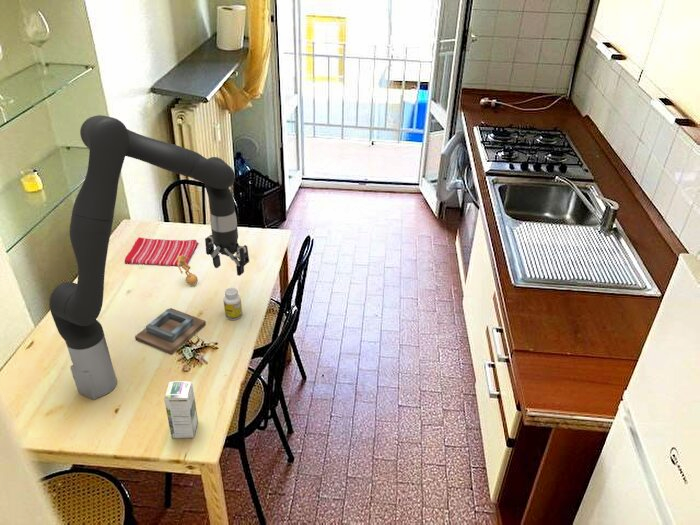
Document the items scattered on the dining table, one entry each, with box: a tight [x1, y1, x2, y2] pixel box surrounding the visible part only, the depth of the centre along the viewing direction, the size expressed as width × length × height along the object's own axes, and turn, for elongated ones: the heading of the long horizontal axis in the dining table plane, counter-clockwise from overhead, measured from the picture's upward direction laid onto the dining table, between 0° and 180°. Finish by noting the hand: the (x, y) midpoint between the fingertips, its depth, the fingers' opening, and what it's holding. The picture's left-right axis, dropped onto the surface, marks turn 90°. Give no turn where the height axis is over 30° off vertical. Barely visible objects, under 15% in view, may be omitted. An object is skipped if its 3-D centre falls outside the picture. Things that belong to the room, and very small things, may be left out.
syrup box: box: [163, 380, 199, 439], centre depth 141 cm, size 6×6×14 cm
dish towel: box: [124, 236, 200, 267], centre depth 214 cm, size 17×24×3 cm
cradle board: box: [134, 307, 207, 355], centre depth 175 cm, size 16×14×4 cm
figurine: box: [177, 255, 198, 286], centre depth 195 cm, size 8×6×12 cm
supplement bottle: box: [223, 287, 243, 321], centre depth 182 cm, size 5×5×10 cm
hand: (229, 270), depth 175 cm, fingers open, 8 cm apart
